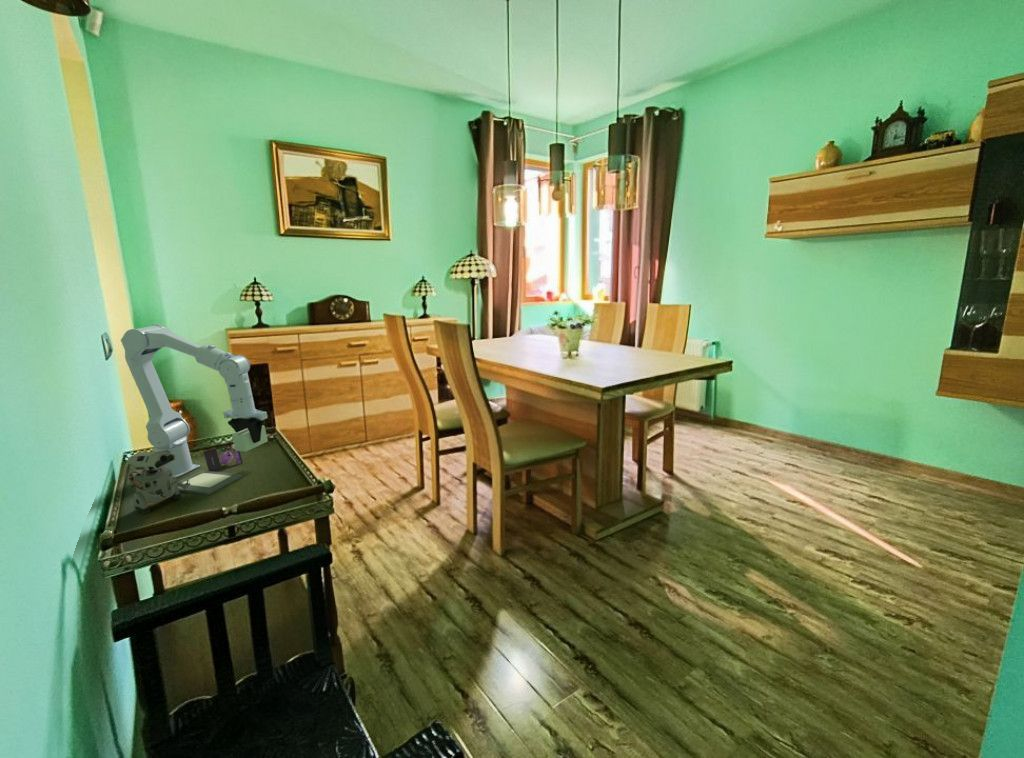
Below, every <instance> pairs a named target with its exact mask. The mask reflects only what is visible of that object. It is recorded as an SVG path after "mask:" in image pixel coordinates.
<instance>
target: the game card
mask: <svg viewBox="0 0 1024 758" xmlns="http://www.w3.org/2000/svg"><path fill="white" fill-rule="evenodd" d="M232 449H233V451H230V450H232ZM217 450H220V451H221V452H223V453H221V454H220V456H221V457H219V454H218V451H217ZM233 452H234V454H232V453H233ZM203 456H204V459H205V462H206V466H207V471H213V472H220V471H222V470H225V469H229V468H232V466H233V467H235V465H236V466H239V464H240V465H243V463H244V462H243V459H242V455H241V451H236V450H235V446H234V443H230V444H226V445H223V446H219V447H216V448H212V449H209V450H204V451H203ZM234 456H235V458H236V461H235V464H233V465H228V466H226V467H222V465H227V464H229V463H231V462H232V461H233V459H234Z"/></svg>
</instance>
